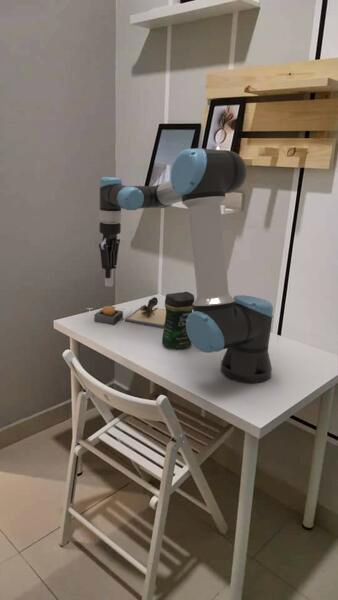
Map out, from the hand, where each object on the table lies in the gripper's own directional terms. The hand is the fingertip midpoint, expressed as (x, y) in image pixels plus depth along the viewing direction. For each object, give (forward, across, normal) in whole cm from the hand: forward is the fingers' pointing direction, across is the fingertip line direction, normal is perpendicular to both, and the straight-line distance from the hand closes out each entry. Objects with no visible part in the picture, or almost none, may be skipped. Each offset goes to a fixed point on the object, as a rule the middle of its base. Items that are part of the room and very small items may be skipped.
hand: (109, 285), depth 175 cm
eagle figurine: (+13, -10, +13) cm, 21 cm away
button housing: (+14, 0, 0) cm, 14 cm away
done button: (+11, 0, 0) cm, 11 cm away
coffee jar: (+14, +12, +31) cm, 36 cm away
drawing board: (+14, -10, +14) cm, 22 cm away
